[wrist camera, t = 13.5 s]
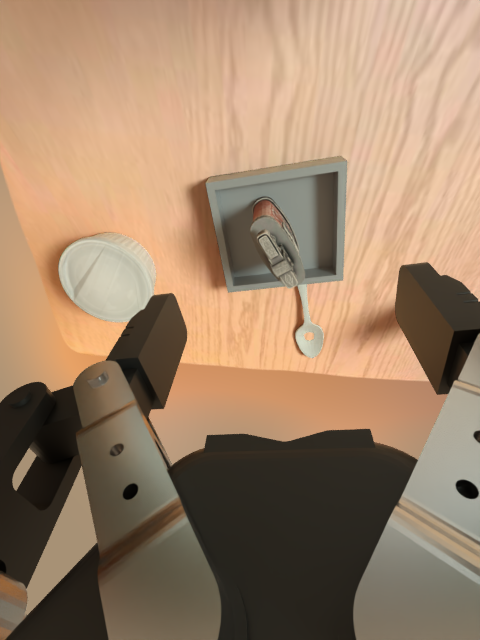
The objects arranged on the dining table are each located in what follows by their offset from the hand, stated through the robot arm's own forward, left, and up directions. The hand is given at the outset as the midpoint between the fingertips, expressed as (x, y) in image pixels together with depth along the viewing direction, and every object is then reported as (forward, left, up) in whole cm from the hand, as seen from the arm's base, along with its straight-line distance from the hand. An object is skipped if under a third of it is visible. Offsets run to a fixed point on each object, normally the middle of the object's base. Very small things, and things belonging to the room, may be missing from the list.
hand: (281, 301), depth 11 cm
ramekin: (+21, +9, -27) cm, 35 cm away
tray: (0, +7, -27) cm, 28 cm away
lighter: (0, +7, -27) cm, 27 cm away
